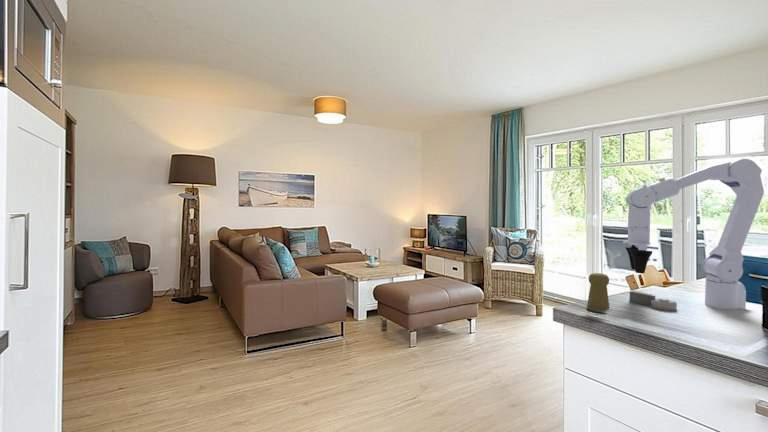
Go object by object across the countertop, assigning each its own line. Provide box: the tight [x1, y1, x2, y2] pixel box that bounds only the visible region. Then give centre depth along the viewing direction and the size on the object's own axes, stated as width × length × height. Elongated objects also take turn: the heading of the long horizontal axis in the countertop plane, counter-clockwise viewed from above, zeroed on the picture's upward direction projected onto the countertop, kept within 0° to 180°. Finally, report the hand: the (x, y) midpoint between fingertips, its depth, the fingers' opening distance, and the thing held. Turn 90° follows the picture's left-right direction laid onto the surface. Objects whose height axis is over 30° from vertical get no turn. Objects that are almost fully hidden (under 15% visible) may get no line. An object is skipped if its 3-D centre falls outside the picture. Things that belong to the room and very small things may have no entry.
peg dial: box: [629, 289, 678, 312], centre depth 115 cm, size 12×6×3 cm, turn 30°
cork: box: [586, 272, 610, 315], centre depth 114 cm, size 6×6×11 cm
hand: (637, 271), depth 122 cm, fingers open, 7 cm apart
